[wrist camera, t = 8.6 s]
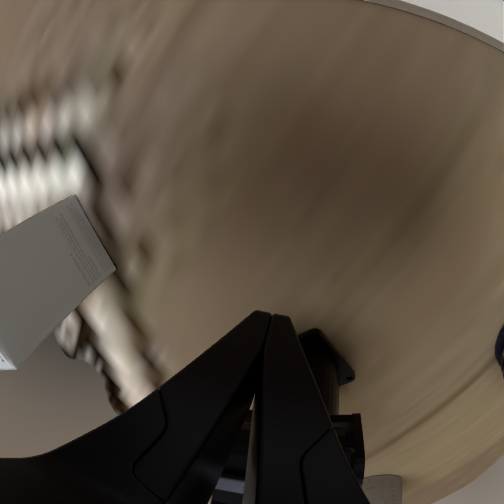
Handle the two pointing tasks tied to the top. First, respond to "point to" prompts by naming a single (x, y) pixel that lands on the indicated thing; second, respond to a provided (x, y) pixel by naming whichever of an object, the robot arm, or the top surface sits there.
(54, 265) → the supplement box
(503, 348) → the storage jar
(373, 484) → the thermos bottle
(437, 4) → the panel
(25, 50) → the top surface
